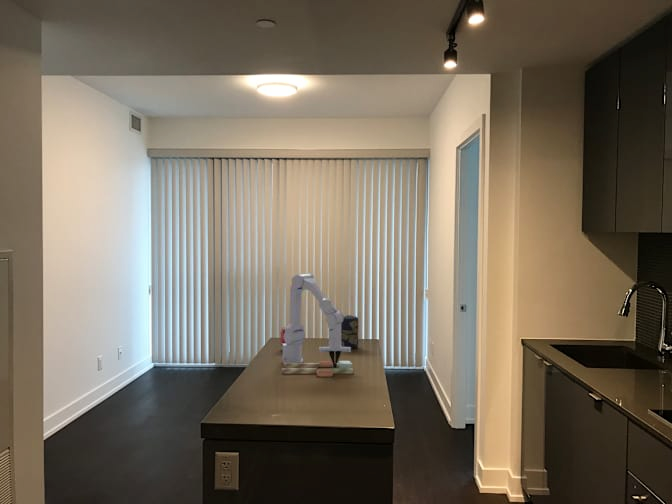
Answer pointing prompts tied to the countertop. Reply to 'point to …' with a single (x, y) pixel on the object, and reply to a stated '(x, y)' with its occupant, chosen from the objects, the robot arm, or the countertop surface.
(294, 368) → the track
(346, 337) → the canister
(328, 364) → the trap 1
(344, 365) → the block
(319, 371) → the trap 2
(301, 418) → the countertop surface
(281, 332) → the soda can
